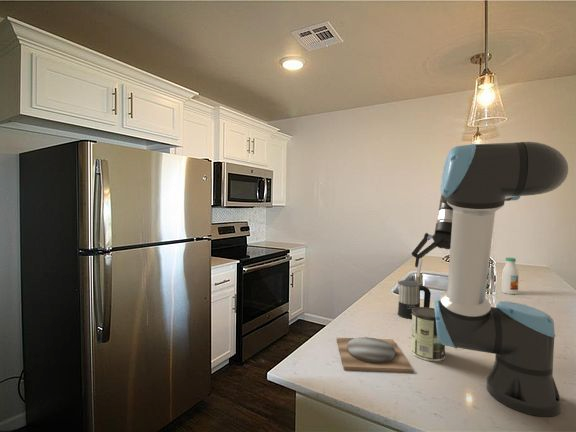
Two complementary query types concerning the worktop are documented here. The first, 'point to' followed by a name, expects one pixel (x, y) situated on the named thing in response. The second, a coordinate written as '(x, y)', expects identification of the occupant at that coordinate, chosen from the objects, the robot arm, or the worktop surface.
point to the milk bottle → (510, 277)
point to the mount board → (370, 366)
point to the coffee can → (426, 335)
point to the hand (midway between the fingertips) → (438, 281)
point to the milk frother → (411, 297)
